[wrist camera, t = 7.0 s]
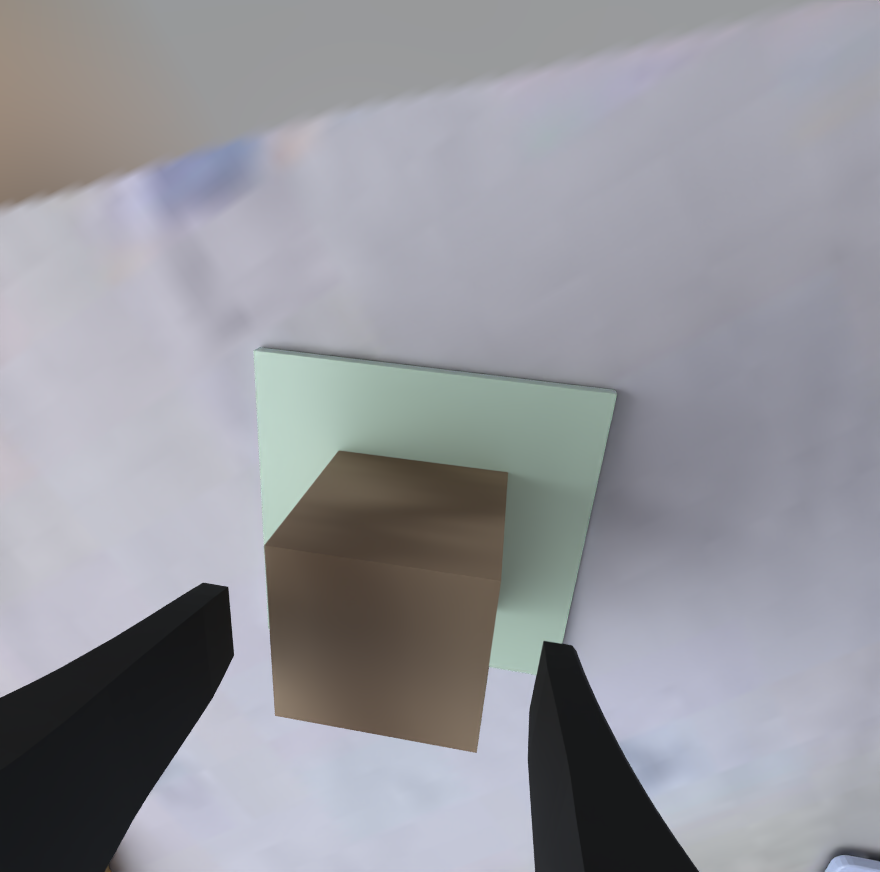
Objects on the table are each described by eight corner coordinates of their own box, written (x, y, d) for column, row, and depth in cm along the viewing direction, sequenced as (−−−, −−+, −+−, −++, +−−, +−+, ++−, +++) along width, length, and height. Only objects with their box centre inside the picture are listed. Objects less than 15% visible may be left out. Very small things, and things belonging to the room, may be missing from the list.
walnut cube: (507, 472, 15) (501, 581, 11) (489, 611, 17) (476, 752, 13) (339, 450, 16) (264, 545, 11) (338, 587, 18) (275, 715, 13)
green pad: (615, 389, 15) (617, 394, 14) (553, 669, 18) (554, 678, 18) (259, 347, 16) (253, 350, 15) (273, 620, 19) (268, 628, 19)
